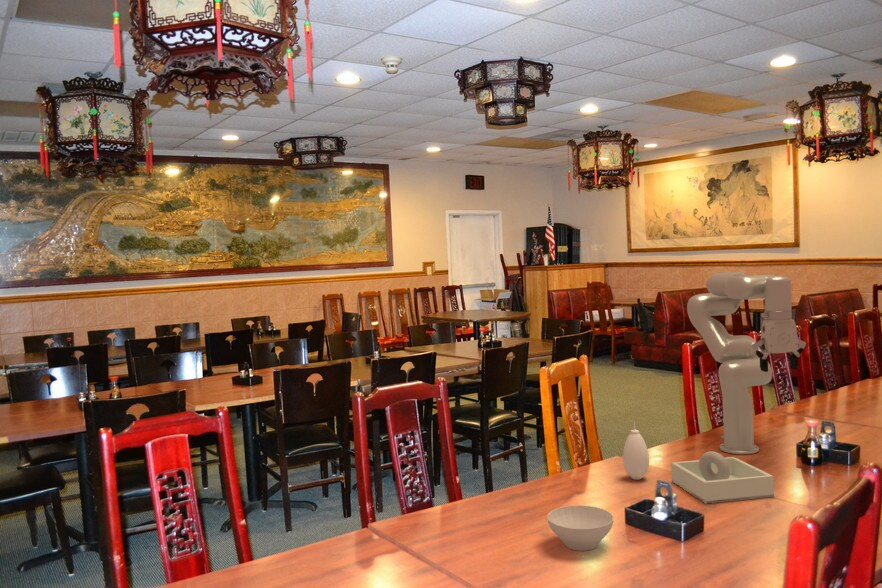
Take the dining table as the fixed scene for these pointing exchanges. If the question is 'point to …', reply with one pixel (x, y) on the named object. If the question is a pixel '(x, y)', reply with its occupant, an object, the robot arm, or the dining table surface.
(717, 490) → the bin
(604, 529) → the bowl
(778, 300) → the robot arm
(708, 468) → the donut
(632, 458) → the sauce bottle
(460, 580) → the dining table surface
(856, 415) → the dining table surface
